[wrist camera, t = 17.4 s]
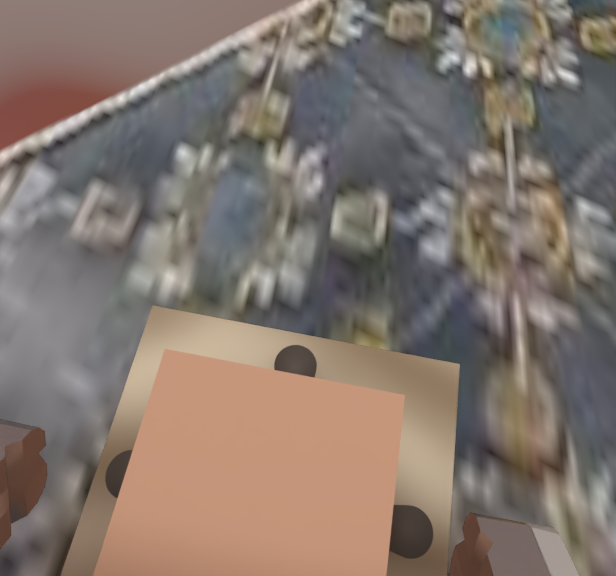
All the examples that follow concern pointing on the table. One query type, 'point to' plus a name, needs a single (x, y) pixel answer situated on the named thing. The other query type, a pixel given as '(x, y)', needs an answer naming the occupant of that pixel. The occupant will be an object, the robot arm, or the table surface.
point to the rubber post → (256, 476)
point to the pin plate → (313, 363)
